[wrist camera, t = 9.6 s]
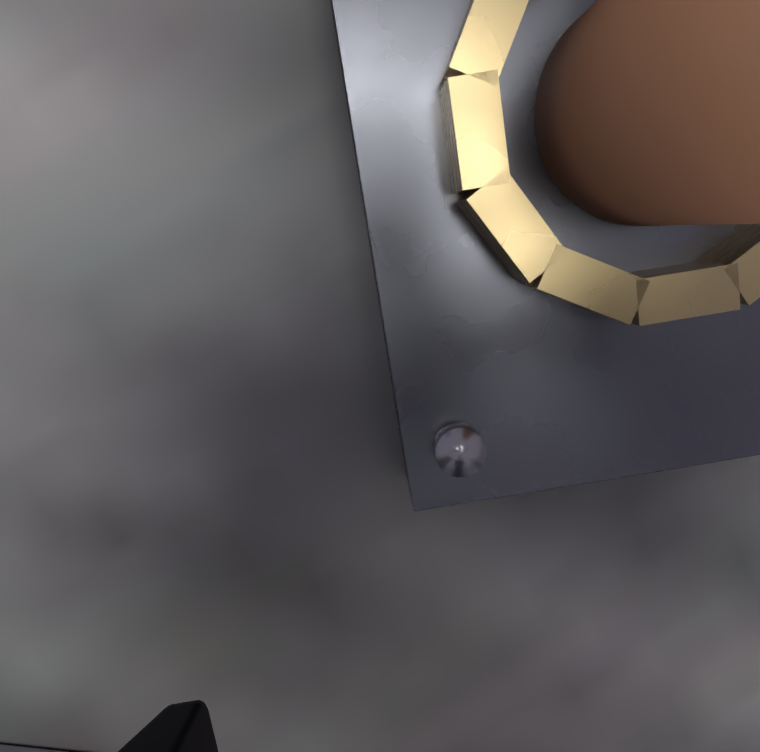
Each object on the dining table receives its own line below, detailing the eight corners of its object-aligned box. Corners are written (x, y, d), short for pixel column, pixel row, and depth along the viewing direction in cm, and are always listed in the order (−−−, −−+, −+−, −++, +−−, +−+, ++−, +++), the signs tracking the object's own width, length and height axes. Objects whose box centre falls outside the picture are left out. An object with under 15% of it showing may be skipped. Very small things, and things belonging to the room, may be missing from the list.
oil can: (760, 206, 16) (1083, 188, 9) (546, 241, 16) (698, 250, 9) (745, -137, 15) (1116, -487, 7) (510, -98, 15) (655, -411, 7)
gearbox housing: (859, 402, 20) (984, 444, 16) (406, 476, 20) (419, 537, 16) (844, -451, 16) (1006, -678, 12) (273, -358, 16) (245, -555, 12)
